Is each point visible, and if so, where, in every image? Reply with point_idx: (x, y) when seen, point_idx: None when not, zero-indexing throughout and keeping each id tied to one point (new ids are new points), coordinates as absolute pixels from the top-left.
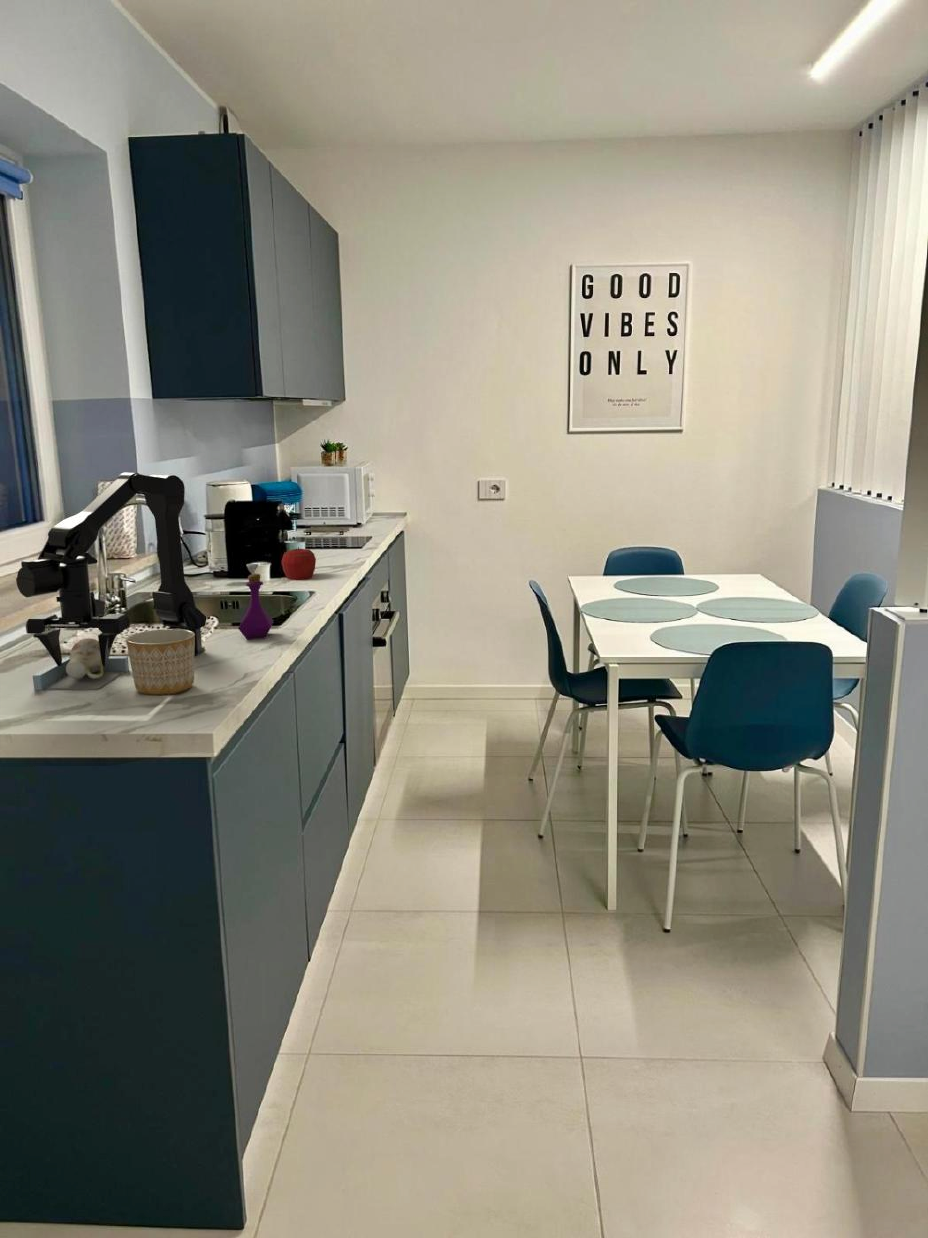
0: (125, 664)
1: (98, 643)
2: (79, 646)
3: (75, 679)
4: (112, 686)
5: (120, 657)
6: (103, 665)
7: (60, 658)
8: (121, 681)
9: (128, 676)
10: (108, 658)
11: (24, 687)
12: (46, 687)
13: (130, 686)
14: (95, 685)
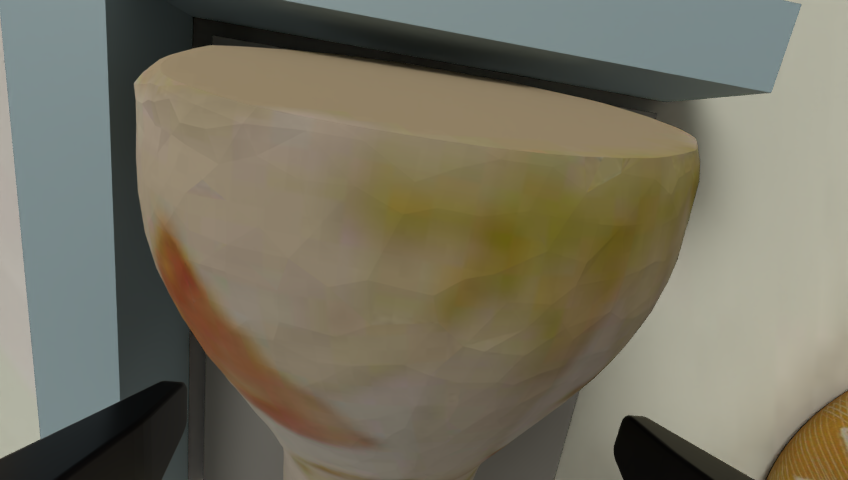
0: (716, 95)
1: (665, 277)
2: (348, 437)
3: None
4: (611, 438)
5: (725, 41)
6: (622, 463)
7: (146, 455)
8: (652, 340)
9: (688, 223)
10: (702, 454)
11: (15, 421)
12: (204, 477)
13: (711, 444)
14: (517, 453)
